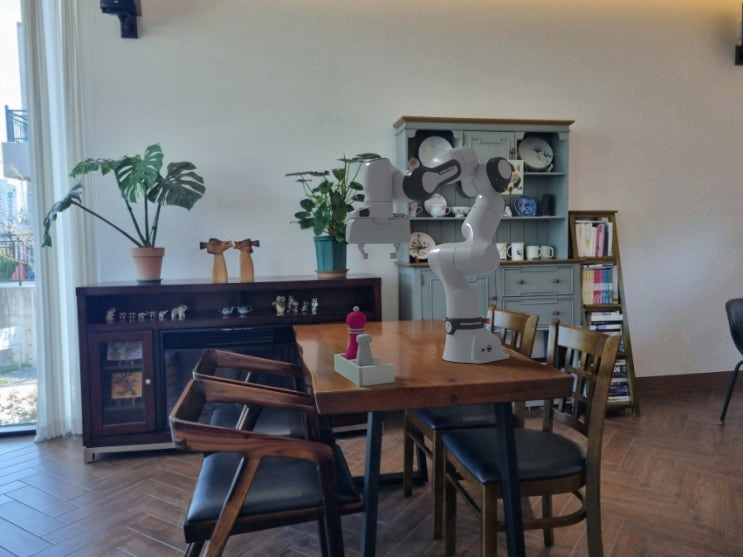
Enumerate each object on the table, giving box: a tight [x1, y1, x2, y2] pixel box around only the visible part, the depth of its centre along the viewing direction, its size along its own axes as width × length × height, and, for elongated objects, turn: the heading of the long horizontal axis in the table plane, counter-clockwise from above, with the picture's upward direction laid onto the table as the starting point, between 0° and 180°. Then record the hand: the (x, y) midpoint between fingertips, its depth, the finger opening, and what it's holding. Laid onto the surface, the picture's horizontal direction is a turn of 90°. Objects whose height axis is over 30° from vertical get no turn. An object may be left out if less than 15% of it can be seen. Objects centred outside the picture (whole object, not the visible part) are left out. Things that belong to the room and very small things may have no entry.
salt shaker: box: [356, 333, 374, 367], centre depth 140 cm, size 6×6×13 cm
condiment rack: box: [333, 352, 395, 387], centre depth 146 cm, size 10×21×5 cm, turn 23°
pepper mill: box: [345, 306, 367, 360], centre depth 150 cm, size 7×7×20 cm
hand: (379, 259), depth 150 cm, fingers open, 8 cm apart
